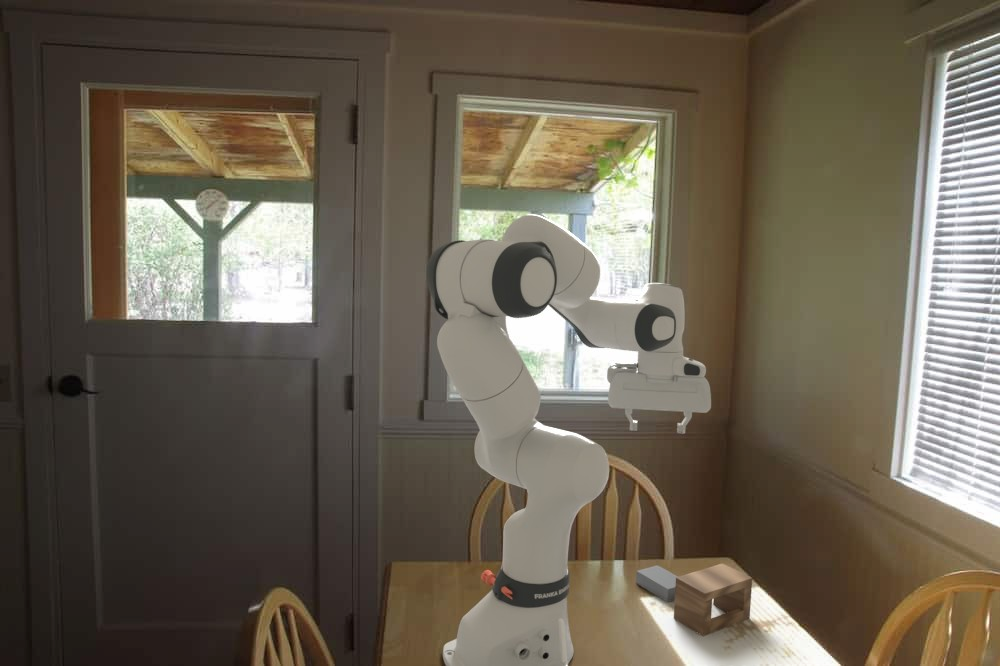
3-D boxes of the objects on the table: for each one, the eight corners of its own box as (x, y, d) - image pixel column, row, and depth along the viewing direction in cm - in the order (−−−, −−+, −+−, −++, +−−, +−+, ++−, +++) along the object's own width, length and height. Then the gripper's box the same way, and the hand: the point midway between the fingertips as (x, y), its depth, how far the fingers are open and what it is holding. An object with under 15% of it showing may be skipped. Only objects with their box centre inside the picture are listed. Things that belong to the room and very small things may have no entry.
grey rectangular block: (667, 603, 128) (667, 589, 128) (635, 584, 136) (636, 570, 135) (688, 596, 131) (689, 582, 131) (656, 578, 139) (657, 565, 139)
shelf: (702, 636, 116) (705, 593, 115) (673, 618, 122) (675, 577, 121) (749, 618, 123) (752, 577, 122) (720, 601, 129) (722, 563, 128)
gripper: (607, 364, 128) (605, 432, 129) (714, 368, 124) (710, 438, 126) (607, 359, 134) (605, 424, 135) (709, 363, 130) (706, 430, 132)
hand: (657, 431), depth 131 cm, fingers open, 8 cm apart
